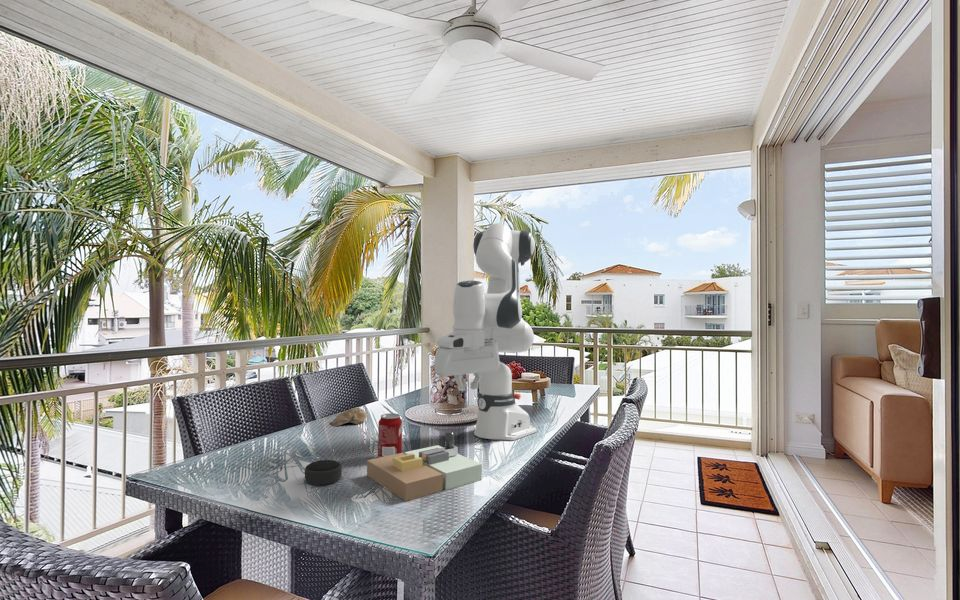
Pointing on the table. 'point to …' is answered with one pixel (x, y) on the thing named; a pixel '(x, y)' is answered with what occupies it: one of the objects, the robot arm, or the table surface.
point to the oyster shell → (350, 417)
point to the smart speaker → (323, 472)
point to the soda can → (389, 435)
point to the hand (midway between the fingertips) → (468, 389)
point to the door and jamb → (422, 472)
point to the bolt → (448, 447)
